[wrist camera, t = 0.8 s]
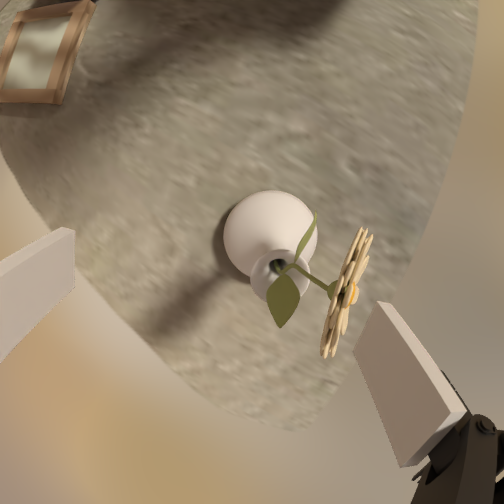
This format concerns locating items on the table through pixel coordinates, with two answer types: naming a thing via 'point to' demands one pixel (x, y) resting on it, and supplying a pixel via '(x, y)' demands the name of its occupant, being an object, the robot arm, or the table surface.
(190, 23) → the table surface
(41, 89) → the wooden picture frame
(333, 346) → the flower in vase
